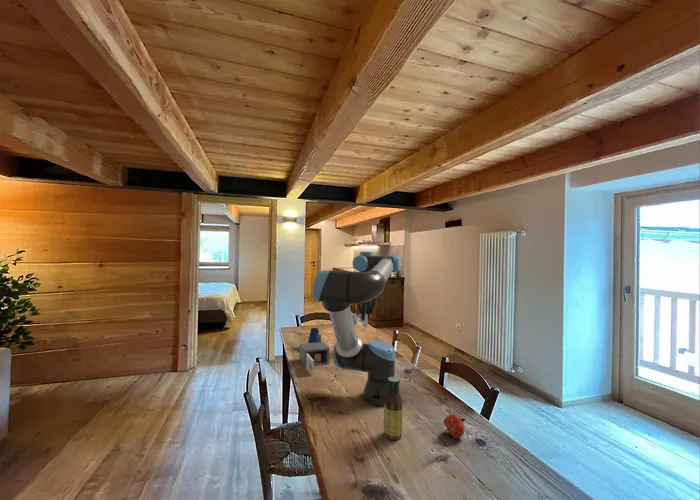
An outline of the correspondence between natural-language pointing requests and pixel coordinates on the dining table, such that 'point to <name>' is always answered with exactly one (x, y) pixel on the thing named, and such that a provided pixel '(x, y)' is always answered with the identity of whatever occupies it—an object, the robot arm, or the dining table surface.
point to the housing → (315, 353)
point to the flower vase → (357, 319)
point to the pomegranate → (454, 425)
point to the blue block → (314, 336)
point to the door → (309, 363)
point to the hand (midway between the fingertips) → (365, 326)
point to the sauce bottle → (393, 410)
